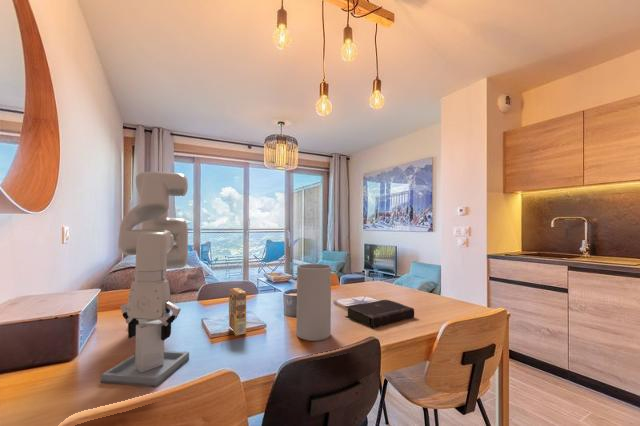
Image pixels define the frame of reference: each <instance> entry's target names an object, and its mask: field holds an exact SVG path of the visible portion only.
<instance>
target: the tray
mask: <svg viewBox="0 0 640 426" xmlns="http://www.w3.org/2000/svg"><path fill="white" fill-rule="evenodd" d="M135 358H136V353H135V354H133V355H130V356H129V357H128V358H126V359H125V360H124V359H123V361H121V362H120V363H118V364H116V365H115V366H113V367H112V368H109V369H107V370H106V371H105V372H102V373H101V374H100V383H101V384H103V383H104V384H115V385H125V386H126V385H129V386H142V387H143V386H144V387H158V385H159V384H161V383H162V382H164V381H165V380H166V379H167V378H168V377H169V376H171V375H172V374H173V373H174V372H176V370H178V369H179V368H180V367H181V366H183V365H184V364H185V363H186V362H187V361H189V360H190V352H189V351H175V350H164V365H162V366H159V367H156V368H153V369H150V370H148V371H145V372H142V373H140V372H139V371H138V370H137V369H136V368H135Z"/></svg>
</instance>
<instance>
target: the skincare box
mask: <svg viewBox="0 0 640 426" xmlns="http://www.w3.org/2000/svg"><path fill="white" fill-rule="evenodd" d="M162 326H163V323H162V322H161V321H160V320H155V321H151V322H146V323H142V324H138V325H136V335H135V354H136V358H135V368H136V369H137V370H138V371H139V372H140V373H142V372H145V371H148V370H150V369H153V368H156V367H159V366H162V365H164V351H165V340H161V327H162Z"/></svg>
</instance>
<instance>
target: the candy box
mask: <svg viewBox="0 0 640 426" xmlns="http://www.w3.org/2000/svg"><path fill="white" fill-rule="evenodd" d="M229 326H230V327H231V328H232V329H233V330H234V333H235V334H234V333H233V334H234V335H235V336H240V335H245V334H247V291H245V290H243V289H241V288H240V287H235V288H229V289H228V327H229Z"/></svg>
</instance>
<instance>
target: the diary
mask: <svg viewBox="0 0 640 426" xmlns="http://www.w3.org/2000/svg"><path fill="white" fill-rule="evenodd" d="M344 308H346V309H347V315H345V316H344V318H347V319H349V320H351V321H354V322H356V323H362V324H363V325H365V326H369V327H370V328H371V327H372V329H377V328H380V327H384V326H387V325H392V324H395V323H398V322H402V321H405V320H410V319H413V318H415V309H414V307H412V306H411V307H410V306H408V305H404V304H402V303H400V302H396V301H393V300H388V299H382V300H381V299H380V300H375V301H371V302H366V303H365V302H364V303H356V304H351V305H346V306H344Z"/></svg>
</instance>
